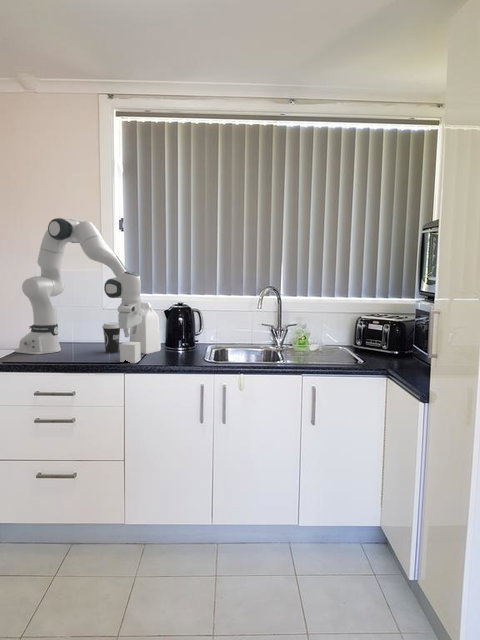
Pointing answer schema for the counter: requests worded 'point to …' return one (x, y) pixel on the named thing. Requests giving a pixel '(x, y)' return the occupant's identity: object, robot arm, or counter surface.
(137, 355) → the white block
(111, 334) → the coffee cup
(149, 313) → the milk
